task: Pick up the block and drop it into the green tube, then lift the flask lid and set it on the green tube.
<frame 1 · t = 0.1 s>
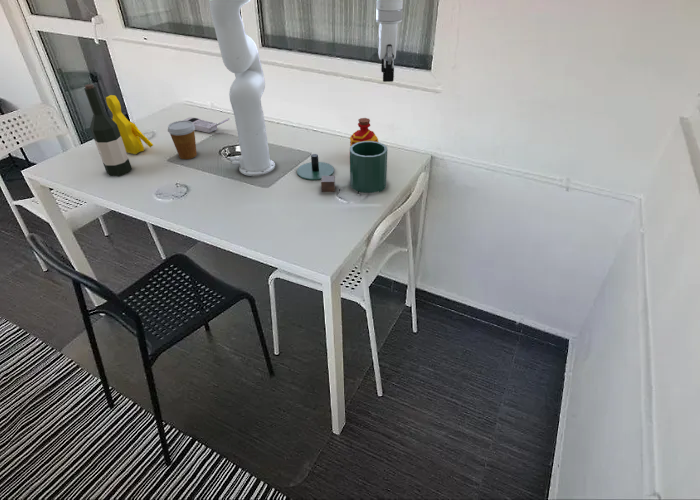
hand: (387, 76, 141), 31 cm above the table, tool pointing down, fingers open, 9 cm apart
figure statuette: (134, 152, 174), on the table
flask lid: (315, 171, 157), point 1 cm above the table
block: (328, 190, 148), on the table
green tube: (368, 185, 150), on the table
potion bottle: (364, 160, 165), on the table
wine bottle: (119, 171, 161), on the table
disposable coffee cup: (188, 156, 170), on the table
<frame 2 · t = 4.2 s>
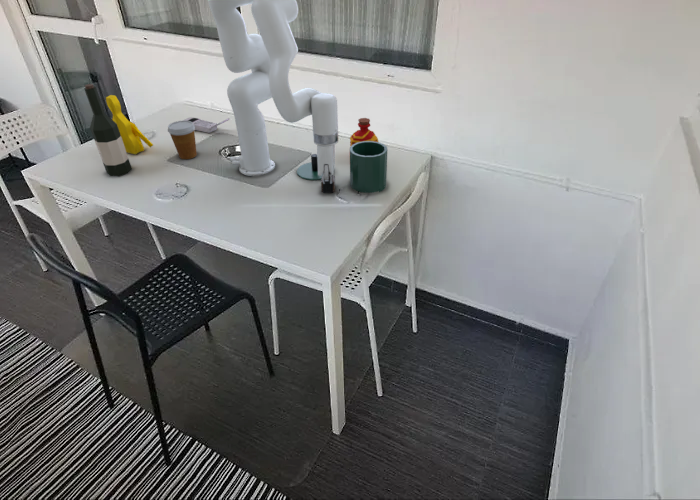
hand: (328, 189, 147), 0 cm above the table, tool pointing down, fingers closed on block, 4 cm apart
block: (328, 190, 148), on the table, touching gripper
everything else where it was.
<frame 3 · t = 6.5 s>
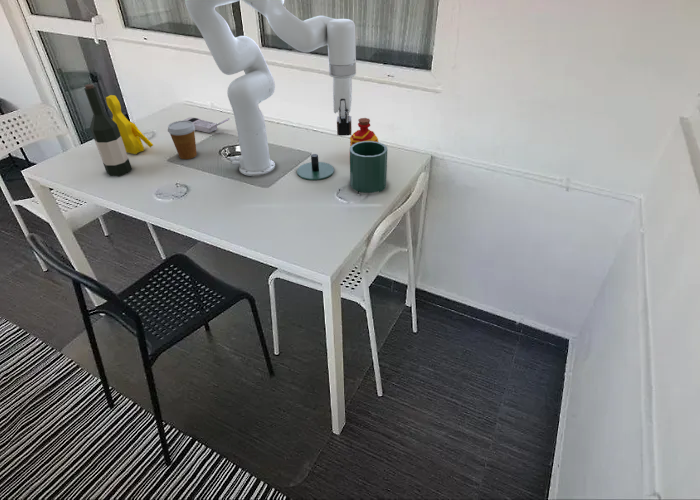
hand: (344, 131, 137), 20 cm above the table, tool pointing down, fingers closed on block, 4 cm apart
block: (344, 132, 137), point 19 cm above the table, touching gripper
everything else where it was.
when the fingers open (15 cm above the table, at t = 8.8 s): block drops 14 cm, resting on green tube.
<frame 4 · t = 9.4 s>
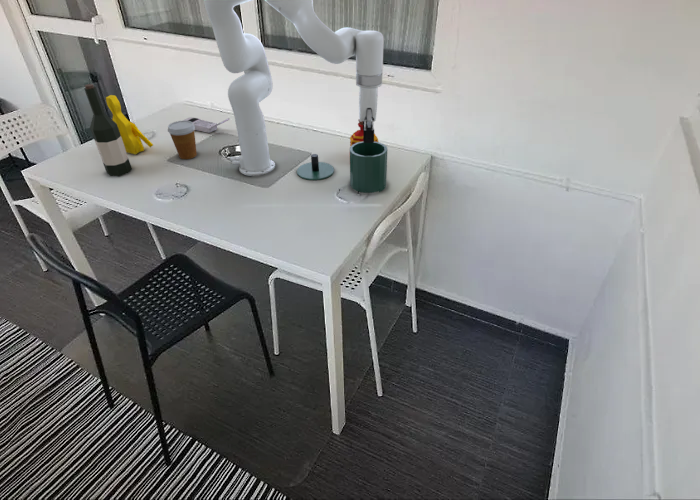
hand: (368, 135, 139), 17 cm above the table, tool pointing down, fingers open, 9 cm apart
block: (368, 184, 149), resting on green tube
everything else where it was.
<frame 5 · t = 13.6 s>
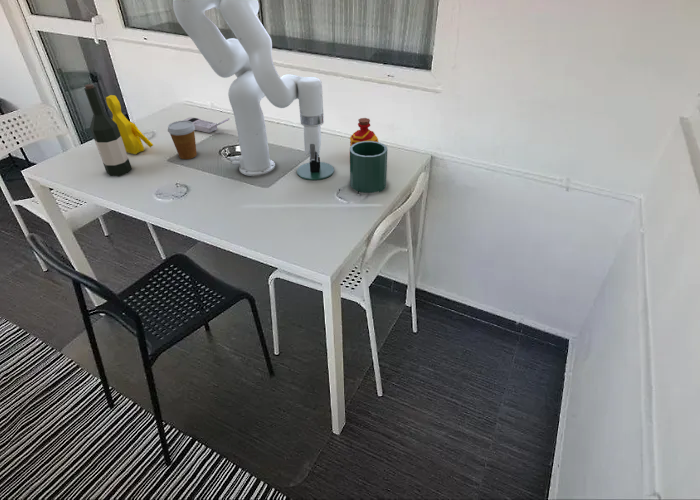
hand: (315, 169, 156), 1 cm above the table, tool pointing down, fingers closed on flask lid, 2 cm apart
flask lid: (315, 171, 157), point 1 cm above the table, touching gripper
everything else where it was.
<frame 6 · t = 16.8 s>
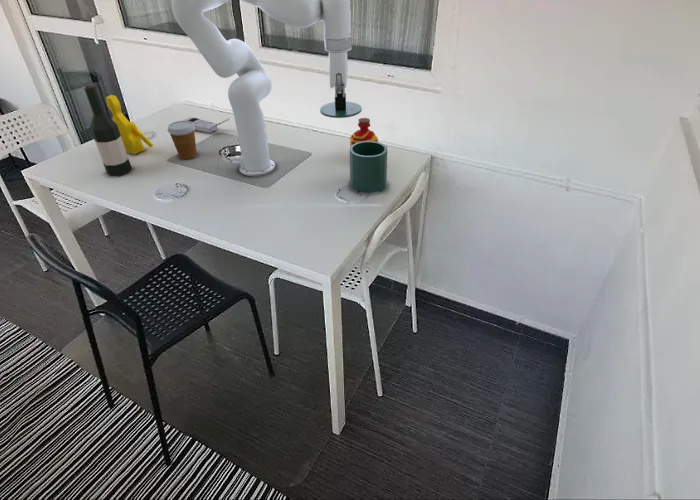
hand: (340, 107, 139), 25 cm above the table, tool pointing down, fingers closed on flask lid, 2 cm apart
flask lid: (340, 110, 139), point 24 cm above the table, touching gripper
everything else where it was.
when the fingers open (14 cm above the table, at t = 20.3 s): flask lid stays where it is, resting on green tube.
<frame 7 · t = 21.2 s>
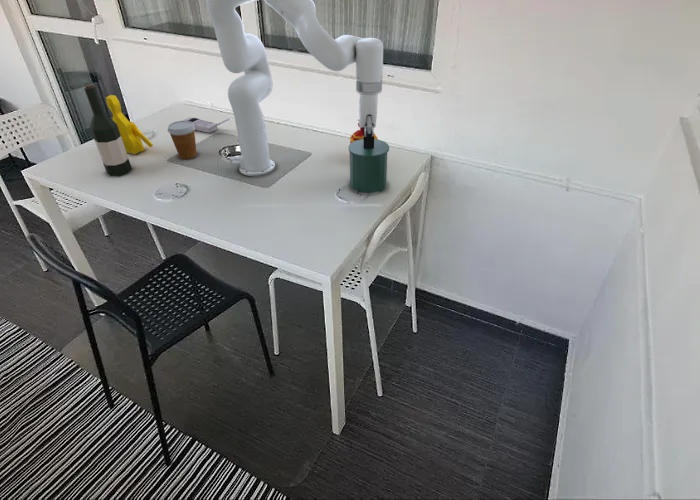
hand: (368, 141, 141), 15 cm above the table, tool pointing down, fingers open, 9 cm apart
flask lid: (368, 148, 142), point 13 cm above the table, touching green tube
everything else where it was.
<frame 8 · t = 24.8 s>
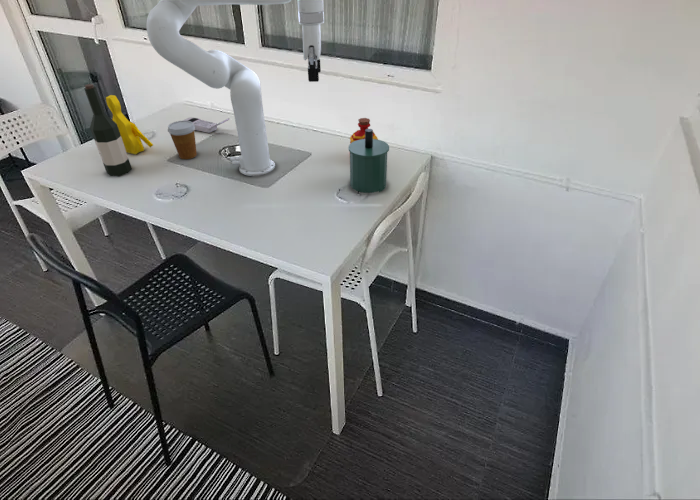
hand: (314, 76, 145), 30 cm above the table, tool pointing down, fingers open, 9 cm apart
nothing on the table moved.
at the end: block inside the target area in the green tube (0.1 cm from its centre), point 0.5 cm above the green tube's base; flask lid 0.1 cm off-centre on the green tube, point 13.0 cm above the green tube's base; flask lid tilted 0° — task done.
